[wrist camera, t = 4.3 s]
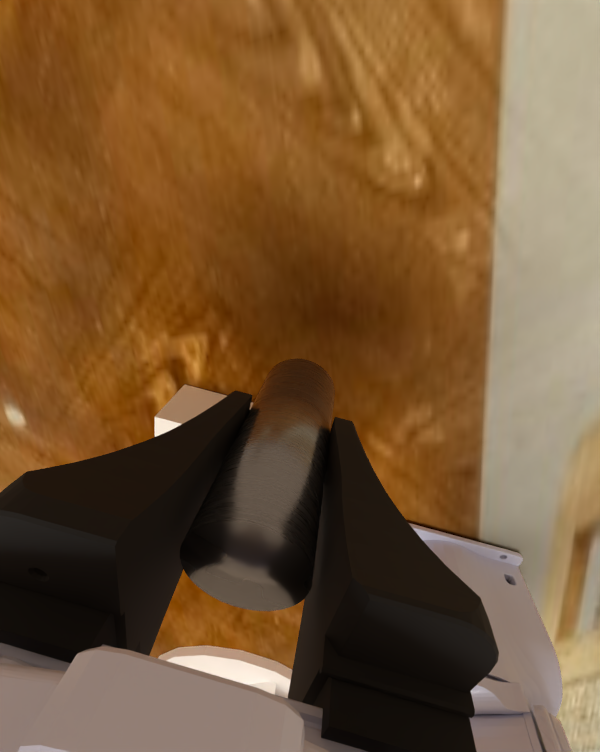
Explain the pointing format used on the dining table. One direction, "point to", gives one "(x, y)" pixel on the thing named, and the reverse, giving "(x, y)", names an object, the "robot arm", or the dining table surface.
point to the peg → (267, 496)
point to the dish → (234, 666)
